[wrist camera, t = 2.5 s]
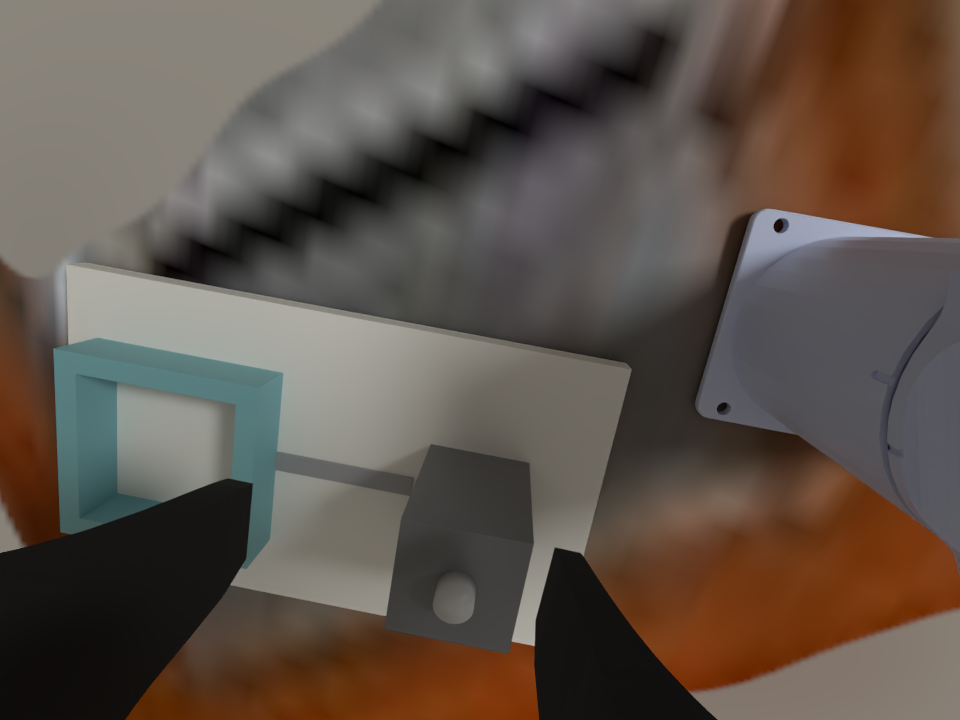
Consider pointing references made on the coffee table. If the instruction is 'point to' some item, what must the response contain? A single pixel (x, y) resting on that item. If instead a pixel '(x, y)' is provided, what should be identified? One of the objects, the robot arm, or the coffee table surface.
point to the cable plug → (463, 550)
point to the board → (314, 425)
